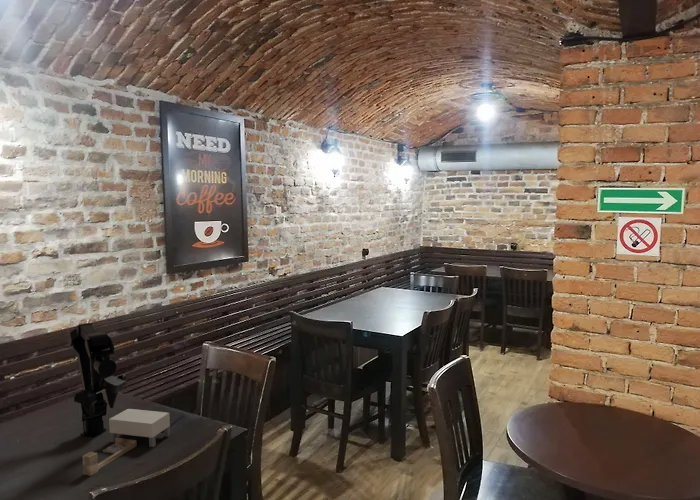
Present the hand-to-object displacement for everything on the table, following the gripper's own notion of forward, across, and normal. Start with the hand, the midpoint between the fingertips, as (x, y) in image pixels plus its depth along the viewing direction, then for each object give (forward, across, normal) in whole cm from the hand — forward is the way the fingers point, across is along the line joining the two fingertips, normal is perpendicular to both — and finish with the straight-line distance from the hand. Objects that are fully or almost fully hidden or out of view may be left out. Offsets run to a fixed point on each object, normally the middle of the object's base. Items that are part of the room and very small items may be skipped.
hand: (102, 412), depth 179 cm
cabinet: (+12, +8, -9) cm, 17 cm away
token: (+13, -1, -6) cm, 14 cm away
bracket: (+13, +22, -6) cm, 26 cm away
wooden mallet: (+12, -8, -7) cm, 16 cm away
